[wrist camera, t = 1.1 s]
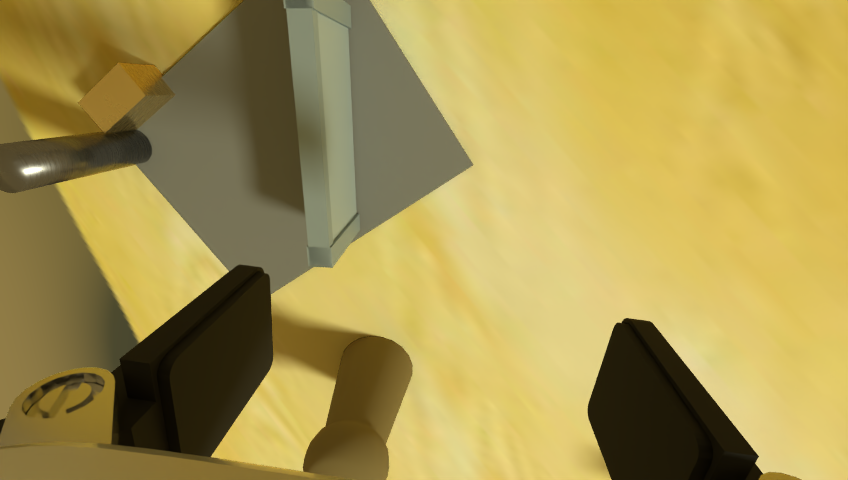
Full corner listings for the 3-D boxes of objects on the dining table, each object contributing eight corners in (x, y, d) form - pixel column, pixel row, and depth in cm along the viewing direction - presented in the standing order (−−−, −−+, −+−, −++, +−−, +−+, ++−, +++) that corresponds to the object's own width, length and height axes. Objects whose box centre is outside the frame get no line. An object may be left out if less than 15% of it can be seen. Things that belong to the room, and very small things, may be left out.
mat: (324, -72, 23) (322, -74, 23) (472, 164, 27) (473, 165, 26) (108, 129, 28) (105, 129, 28) (258, 301, 32) (257, 303, 32)
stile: (154, 65, 26) (11, 54, 18) (198, 119, 27) (81, 133, 19) (97, 119, 28) (-59, 133, 20) (140, 169, 29) (9, 201, 21)
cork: (327, 350, 33) (267, 467, 23) (391, 326, 32) (358, 439, 22) (363, 404, 35) (321, 535, 25) (425, 383, 34) (408, 513, 23)
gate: (327, 5, 24) (281, -23, 18) (350, 5, 24) (312, -23, 18) (340, 228, 29) (308, 266, 23) (360, 229, 29) (332, 267, 23)
